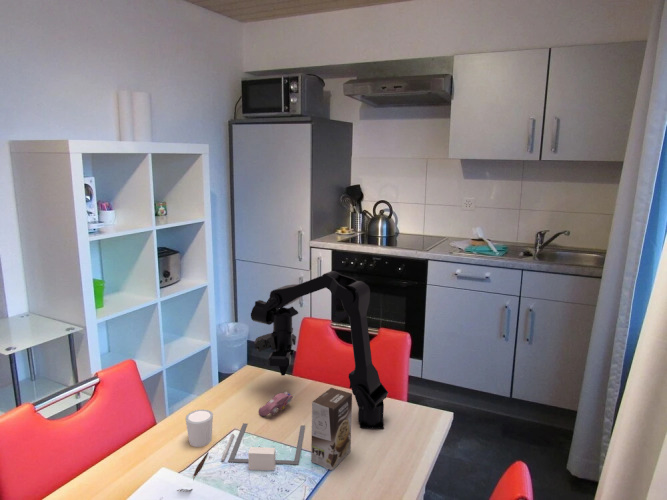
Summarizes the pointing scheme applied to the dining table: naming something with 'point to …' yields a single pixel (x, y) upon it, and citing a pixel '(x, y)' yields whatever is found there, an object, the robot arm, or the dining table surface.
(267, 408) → the toy car
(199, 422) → the grey round cup
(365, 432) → the dining table surface
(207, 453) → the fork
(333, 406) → the coffee box
